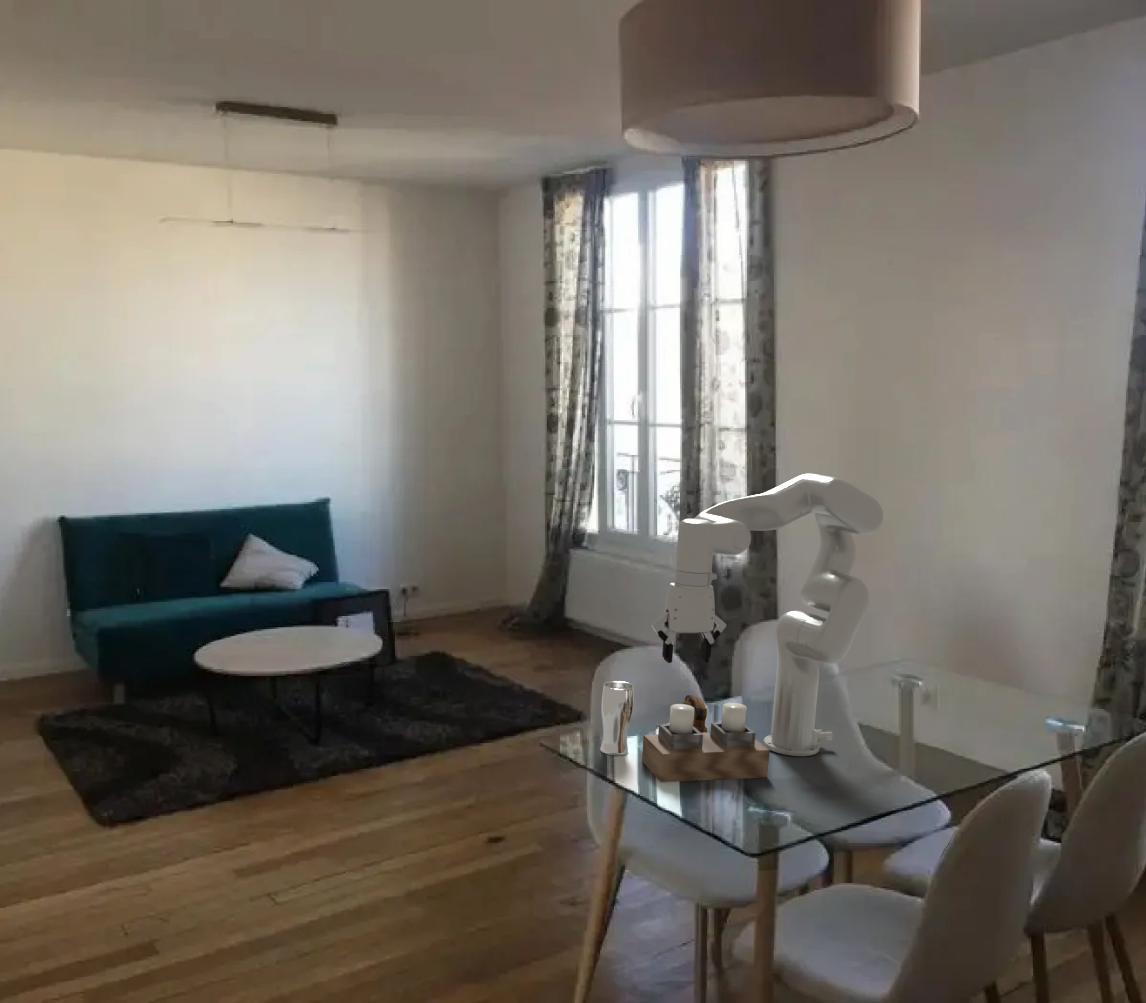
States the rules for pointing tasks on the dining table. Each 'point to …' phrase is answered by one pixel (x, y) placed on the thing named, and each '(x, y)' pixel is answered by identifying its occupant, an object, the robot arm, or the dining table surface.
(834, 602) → the robot arm
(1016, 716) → the dining table surface
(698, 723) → the wooden carving
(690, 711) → the knob
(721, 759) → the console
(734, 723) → the knob
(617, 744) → the beer glass
